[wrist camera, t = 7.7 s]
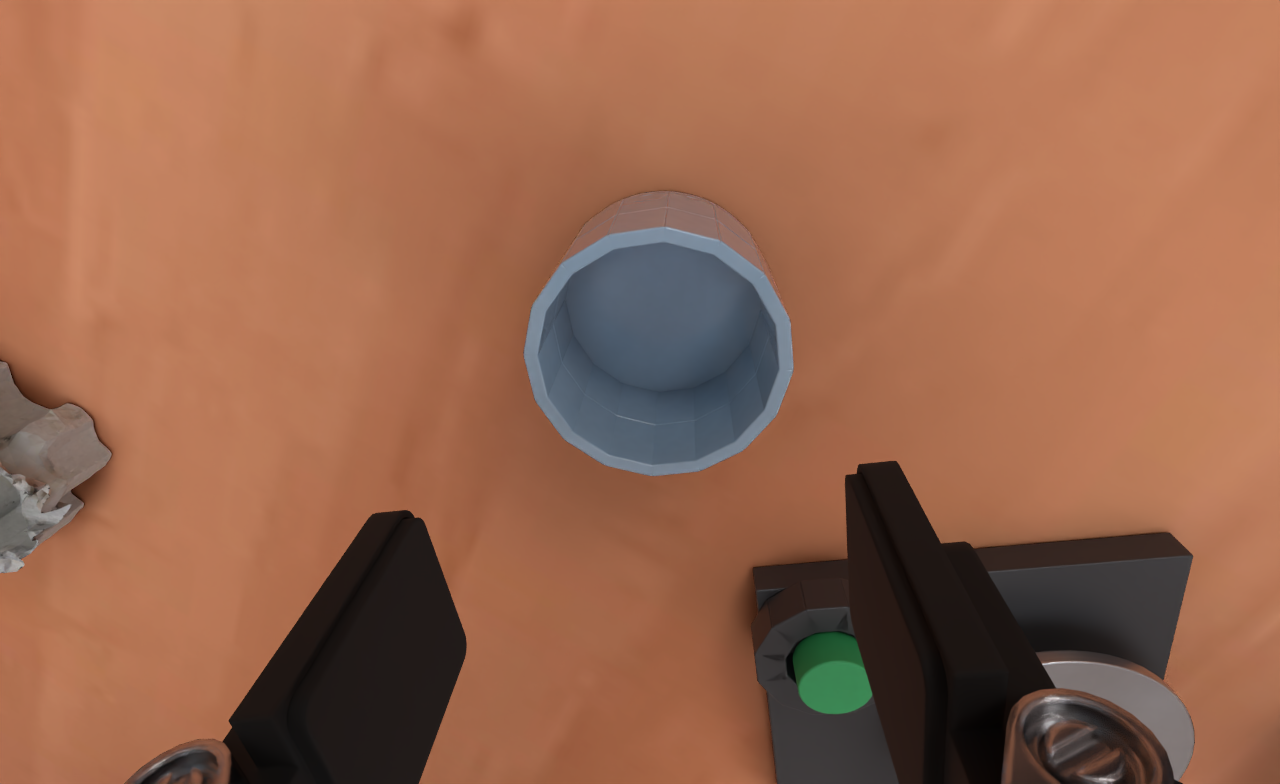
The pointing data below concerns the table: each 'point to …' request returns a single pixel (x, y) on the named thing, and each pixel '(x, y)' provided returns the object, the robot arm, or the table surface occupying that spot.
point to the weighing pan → (1128, 696)
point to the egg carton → (40, 469)
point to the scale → (1034, 592)
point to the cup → (660, 337)
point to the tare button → (831, 673)
